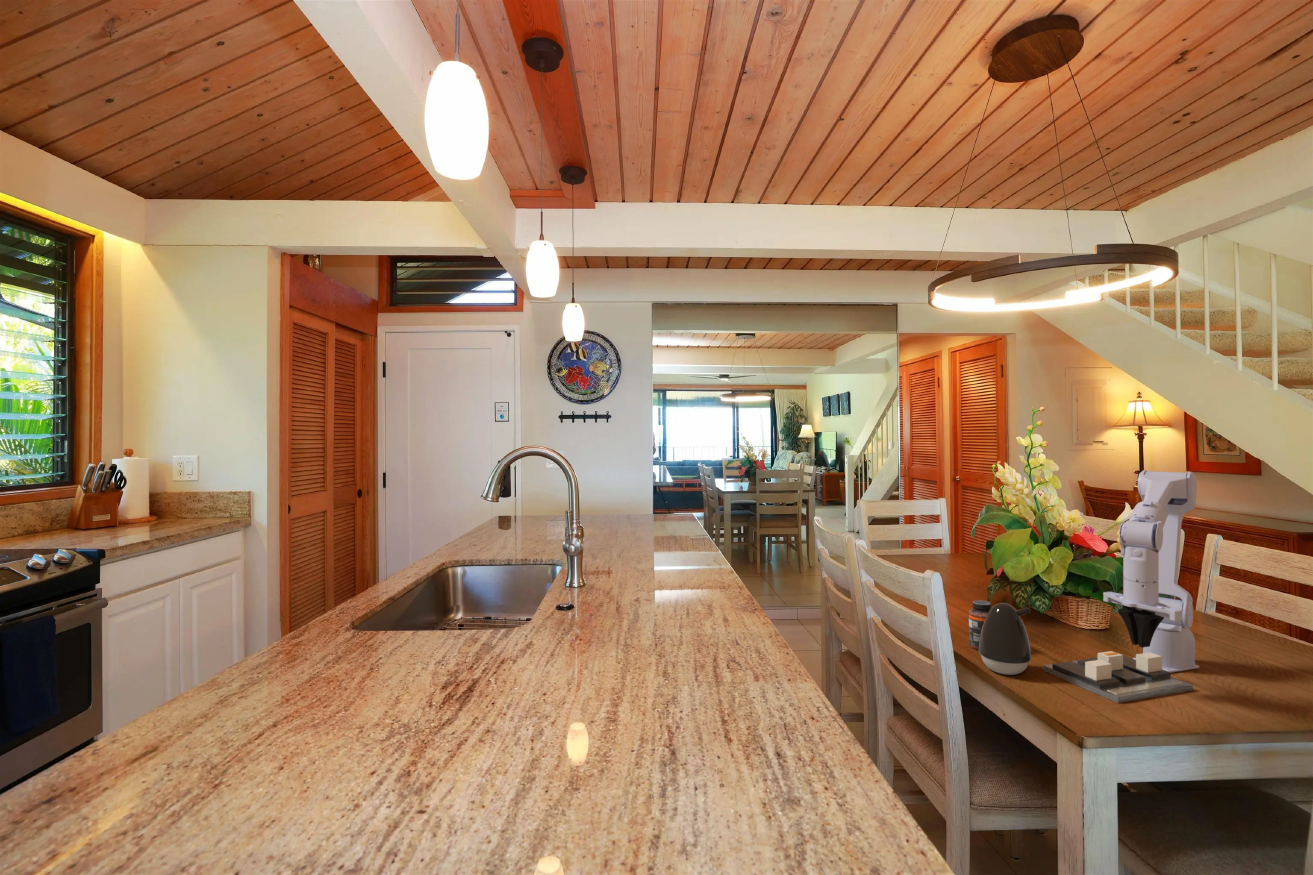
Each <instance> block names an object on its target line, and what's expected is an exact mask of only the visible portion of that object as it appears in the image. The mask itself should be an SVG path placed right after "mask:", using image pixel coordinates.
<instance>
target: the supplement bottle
mask: <svg viewBox="0 0 1313 875" xmlns="http://www.w3.org/2000/svg"><path fill="white" fill-rule="evenodd" d="M991 608H992V603H991V602H990V601H988V600H980V599H979V600H977V599H976V600H973V601H972V608H971V609H970V610H969V611H968V637H969V638H968V641H969V643H968V644H969V646H970V648H972V649H974V650H978V651H979V641H980V635H981V630H982V627H983V624H984V621H985V619H986V616H987V614H988V613H989V611H990V609H991Z"/></svg>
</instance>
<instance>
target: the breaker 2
mask: <svg viewBox="0 0 1313 875" xmlns="http://www.w3.org/2000/svg"><path fill="white" fill-rule="evenodd" d="M1135 658H1136V668H1137V669H1140V670H1142V671H1145V672H1148V673H1149V672H1155V671H1162V656H1159V655H1156V654H1154V653H1151V652H1149V653H1143V652H1142V653H1137V654H1135Z"/></svg>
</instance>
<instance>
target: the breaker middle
mask: <svg viewBox="0 0 1313 875" xmlns="http://www.w3.org/2000/svg"><path fill="white" fill-rule="evenodd" d="M1123 656H1124V655H1123V654H1121V653H1118V652H1115V651H1111V650H1109V651H1103V652H1097V657H1098V660H1102V661H1105V662H1107V663H1110V664H1111V671H1113V670H1120V669H1123Z"/></svg>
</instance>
